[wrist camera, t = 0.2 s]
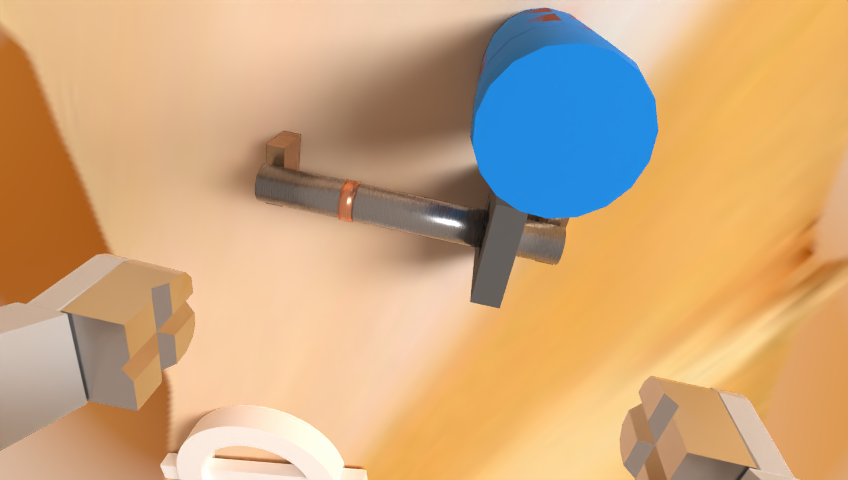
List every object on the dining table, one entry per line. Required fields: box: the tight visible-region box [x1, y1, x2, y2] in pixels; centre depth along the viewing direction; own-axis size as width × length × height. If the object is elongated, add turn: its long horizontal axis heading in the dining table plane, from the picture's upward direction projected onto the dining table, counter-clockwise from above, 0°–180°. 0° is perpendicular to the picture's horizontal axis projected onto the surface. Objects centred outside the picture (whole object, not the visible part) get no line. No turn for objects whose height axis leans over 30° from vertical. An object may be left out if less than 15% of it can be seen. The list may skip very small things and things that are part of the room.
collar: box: [470, 189, 528, 308], centre depth 53 cm, size 11×3×11 cm, turn 170°
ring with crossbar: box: [160, 405, 367, 480], centre depth 86 cm, size 28×28×5 cm
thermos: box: [470, 8, 658, 218], centre depth 40 cm, size 11×11×25 cm
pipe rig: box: [255, 131, 569, 265], centre depth 55 cm, size 7×33×9 cm, turn 80°
